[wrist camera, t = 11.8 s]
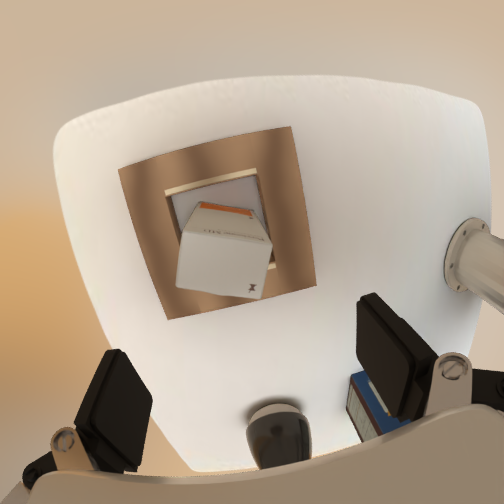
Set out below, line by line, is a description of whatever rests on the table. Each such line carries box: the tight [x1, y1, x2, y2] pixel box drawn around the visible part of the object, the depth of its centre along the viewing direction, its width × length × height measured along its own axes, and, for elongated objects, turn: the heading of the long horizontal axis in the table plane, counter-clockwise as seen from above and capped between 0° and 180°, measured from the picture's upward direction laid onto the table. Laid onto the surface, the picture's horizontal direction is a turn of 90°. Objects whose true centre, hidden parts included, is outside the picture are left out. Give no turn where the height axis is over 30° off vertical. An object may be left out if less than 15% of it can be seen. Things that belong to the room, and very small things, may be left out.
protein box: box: [346, 370, 411, 443], centre depth 34 cm, size 10×15×16 cm
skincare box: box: [175, 202, 273, 299], centre depth 23 cm, size 6×4×12 cm
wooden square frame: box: [118, 126, 317, 320], centre depth 28 cm, size 17×17×3 cm
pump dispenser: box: [246, 404, 312, 470], centre depth 33 cm, size 10×10×15 cm
